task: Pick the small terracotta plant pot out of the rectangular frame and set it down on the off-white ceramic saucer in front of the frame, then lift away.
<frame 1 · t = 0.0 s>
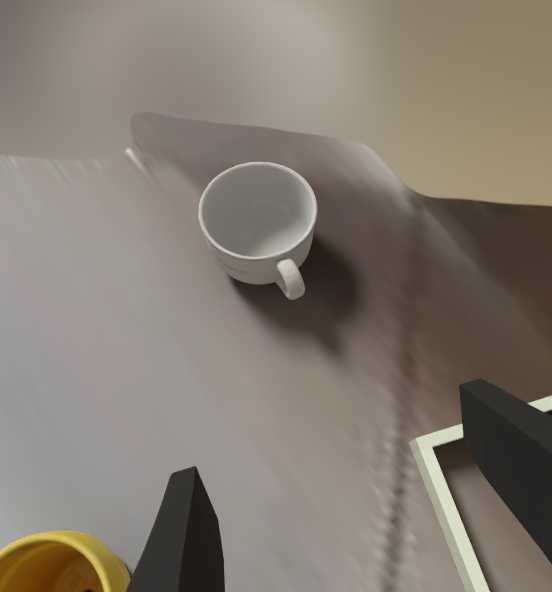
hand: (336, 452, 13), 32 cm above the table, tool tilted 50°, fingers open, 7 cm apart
teacup: (268, 262, 52), on the table
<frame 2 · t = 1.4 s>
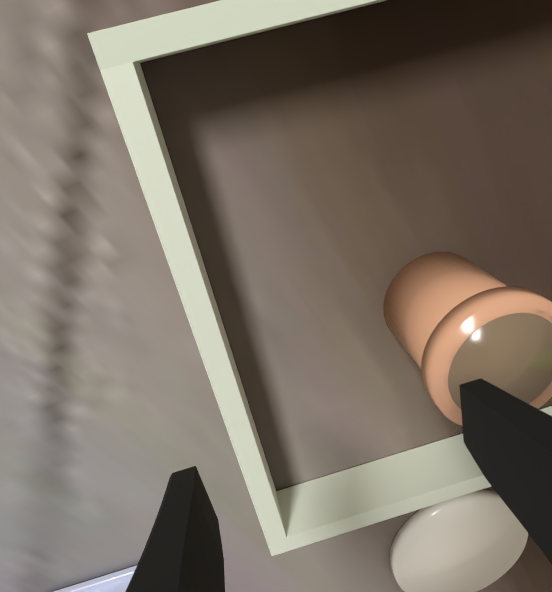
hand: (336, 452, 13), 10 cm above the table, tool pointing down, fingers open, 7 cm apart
terracotta pot: (432, 300, 24), resting in rectangular frame
saucer: (455, 542, 32), on the table
rectangular frame: (449, 258, 23), on the table
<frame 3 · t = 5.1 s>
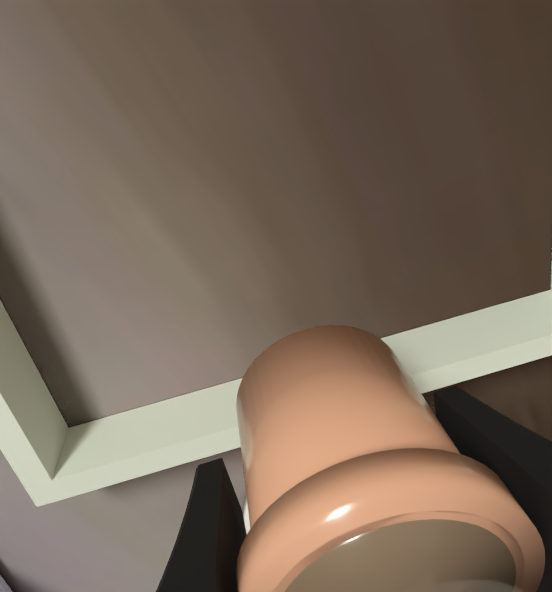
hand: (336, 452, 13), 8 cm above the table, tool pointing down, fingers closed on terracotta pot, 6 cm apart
terracotta pot: (321, 399, 14), point 7 cm above the table, touching gripper
rectangular frame: (258, 92, 17), on the table
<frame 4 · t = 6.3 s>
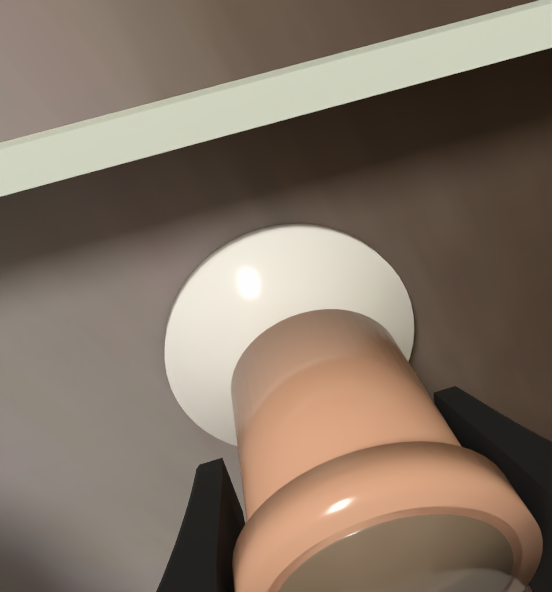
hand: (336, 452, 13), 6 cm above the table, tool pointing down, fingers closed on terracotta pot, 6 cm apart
terracotta pot: (317, 382, 14), point 4 cm above the table, tilted 6°, touching gripper
saucer: (289, 341, 18), on the table
when the fingers open (4 cm above the table, at t = 7.3 s): terracotta pot stays where it is, resting on saucer.
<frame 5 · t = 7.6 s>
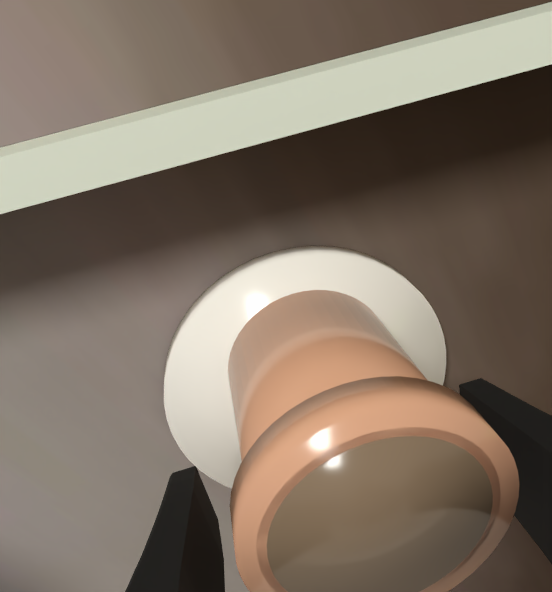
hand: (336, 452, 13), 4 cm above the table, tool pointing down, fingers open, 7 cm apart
terracotta pot: (309, 364, 15), point 1 cm above the table, touching saucer
saucer: (305, 376, 16), on the table
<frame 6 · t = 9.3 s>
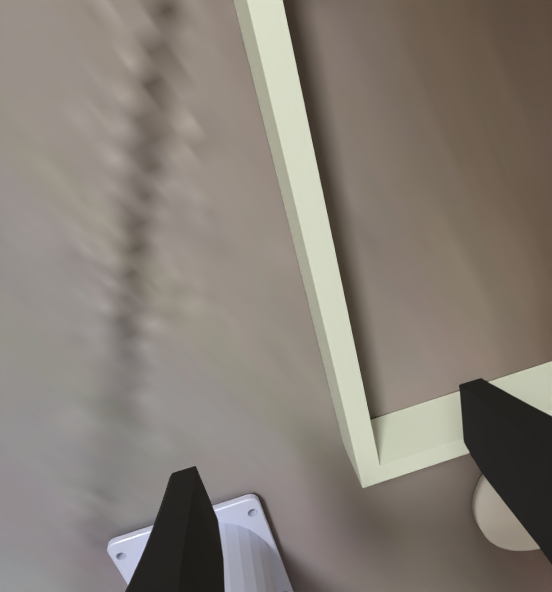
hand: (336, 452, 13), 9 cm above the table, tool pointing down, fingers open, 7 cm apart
saucer: (542, 485, 30), on the table
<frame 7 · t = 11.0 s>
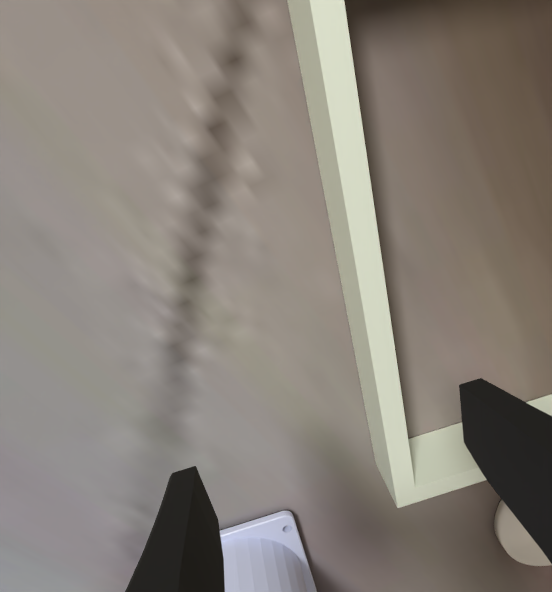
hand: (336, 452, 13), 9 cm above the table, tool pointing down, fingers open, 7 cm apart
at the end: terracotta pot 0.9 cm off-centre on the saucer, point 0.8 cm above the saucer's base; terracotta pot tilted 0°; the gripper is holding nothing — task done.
